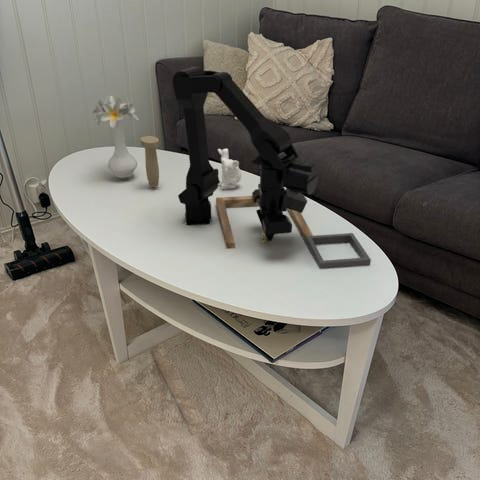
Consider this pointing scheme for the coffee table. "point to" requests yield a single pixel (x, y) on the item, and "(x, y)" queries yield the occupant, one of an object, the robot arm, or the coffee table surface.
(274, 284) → the coffee table surface
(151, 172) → the handle
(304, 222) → the wooden u-frame
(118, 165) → the flower vase
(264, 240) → the dice set
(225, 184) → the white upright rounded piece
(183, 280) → the coffee table surface
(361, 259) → the bin
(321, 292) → the coffee table surface
